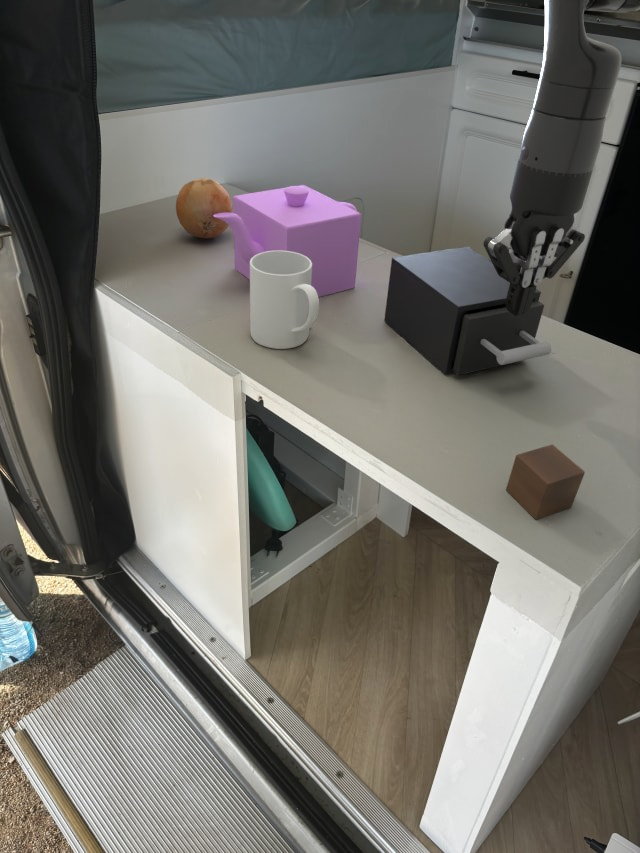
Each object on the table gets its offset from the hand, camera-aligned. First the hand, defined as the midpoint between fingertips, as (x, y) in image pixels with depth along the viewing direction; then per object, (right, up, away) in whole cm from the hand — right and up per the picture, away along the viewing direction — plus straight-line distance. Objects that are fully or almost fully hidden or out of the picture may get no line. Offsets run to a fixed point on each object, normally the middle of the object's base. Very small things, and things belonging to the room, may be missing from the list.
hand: (516, 312), depth 77 cm
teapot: (-28, +10, +26) cm, 40 cm away
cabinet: (-5, -1, +13) cm, 14 cm away
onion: (-44, +20, +39) cm, 62 cm away
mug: (-28, -2, +10) cm, 30 cm away
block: (-2, -21, -12) cm, 24 cm away
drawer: (-3, -3, +10) cm, 11 cm away
